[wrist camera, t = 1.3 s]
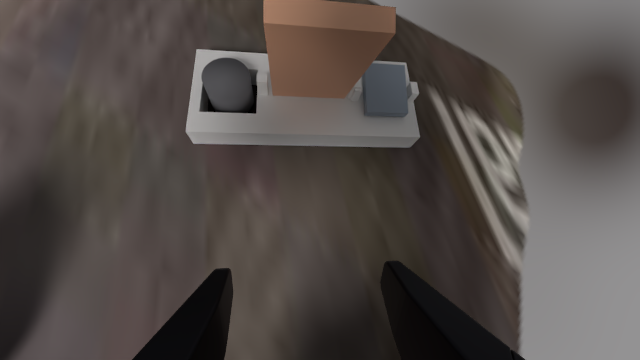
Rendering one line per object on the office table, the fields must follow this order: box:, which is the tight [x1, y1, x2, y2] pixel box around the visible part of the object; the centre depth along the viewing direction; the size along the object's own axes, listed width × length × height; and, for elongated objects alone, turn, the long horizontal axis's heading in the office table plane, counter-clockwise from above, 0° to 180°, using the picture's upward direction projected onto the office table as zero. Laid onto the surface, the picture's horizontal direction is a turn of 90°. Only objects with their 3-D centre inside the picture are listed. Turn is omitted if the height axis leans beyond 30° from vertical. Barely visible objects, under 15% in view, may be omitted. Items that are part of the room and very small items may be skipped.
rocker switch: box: [362, 63, 408, 117], centre depth 23 cm, size 4×4×1 cm
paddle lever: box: [264, 0, 396, 99], centre depth 17 cm, size 1×6×10 cm, turn 92°
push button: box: [201, 58, 254, 113], centre depth 22 cm, size 4×4×3 cm
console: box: [186, 49, 420, 148], centre depth 23 cm, size 8×19×4 cm, turn 92°
